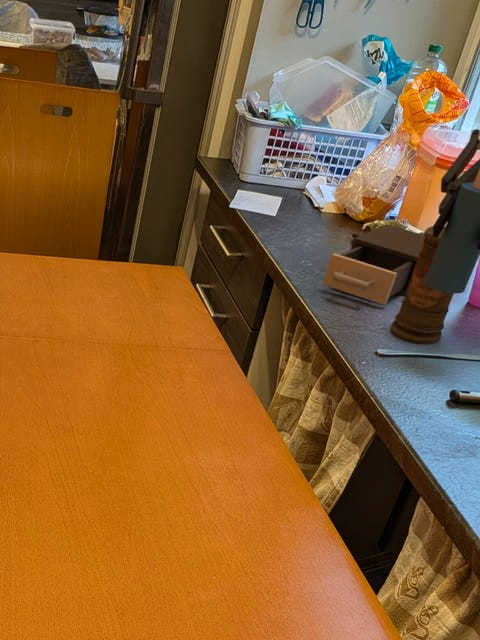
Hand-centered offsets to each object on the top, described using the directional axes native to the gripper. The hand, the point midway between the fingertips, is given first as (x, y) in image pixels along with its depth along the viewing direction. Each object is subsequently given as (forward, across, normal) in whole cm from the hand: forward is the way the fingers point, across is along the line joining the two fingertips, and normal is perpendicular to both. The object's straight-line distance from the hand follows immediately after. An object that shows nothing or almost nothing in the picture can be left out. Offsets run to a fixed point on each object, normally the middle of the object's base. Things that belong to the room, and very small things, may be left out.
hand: (457, 237), depth 145 cm
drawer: (-6, +21, -35) cm, 42 cm away
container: (+4, +5, -27) cm, 28 cm away
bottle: (+3, 0, -8) cm, 9 cm away
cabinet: (-15, +21, -46) cm, 53 cm away
